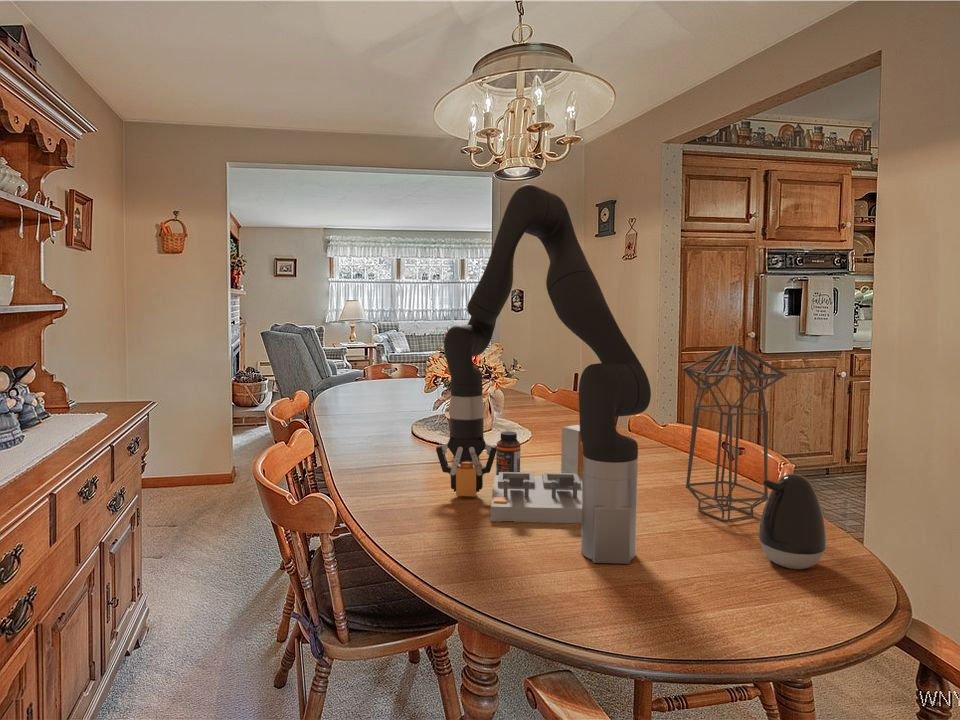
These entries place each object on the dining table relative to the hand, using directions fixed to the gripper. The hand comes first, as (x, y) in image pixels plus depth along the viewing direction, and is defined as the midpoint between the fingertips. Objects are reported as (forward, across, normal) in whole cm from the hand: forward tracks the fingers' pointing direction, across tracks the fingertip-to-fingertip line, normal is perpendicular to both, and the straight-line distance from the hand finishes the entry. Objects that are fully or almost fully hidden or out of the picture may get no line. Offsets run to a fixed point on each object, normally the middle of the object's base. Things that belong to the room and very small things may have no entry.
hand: (466, 490), depth 144 cm
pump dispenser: (+2, -57, +33) cm, 66 cm away
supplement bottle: (+1, -9, -16) cm, 19 cm away
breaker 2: (-5, -21, +9) cm, 23 cm away
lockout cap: (+1, 0, 0) cm, 1 cm away
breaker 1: (-5, -11, +9) cm, 15 cm away
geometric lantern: (+2, -55, +7) cm, 55 cm away
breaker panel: (+1, -16, +4) cm, 17 cm away
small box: (+2, -27, -16) cm, 32 cm away
